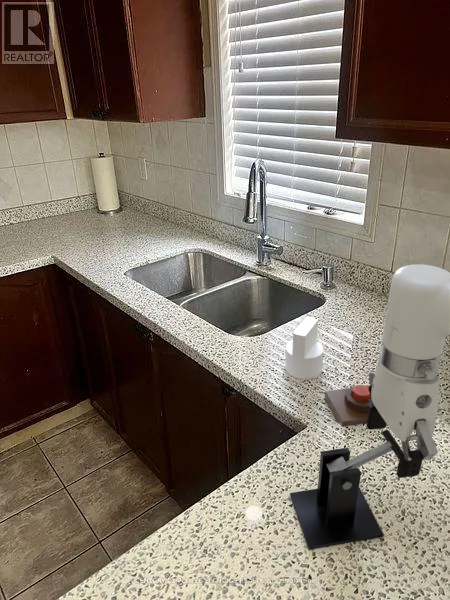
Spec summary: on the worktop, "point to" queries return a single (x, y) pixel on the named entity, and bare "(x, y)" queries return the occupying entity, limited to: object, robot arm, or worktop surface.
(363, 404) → the control block
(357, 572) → the worktop surface
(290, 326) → the worktop surface
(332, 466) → the lever
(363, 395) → the button
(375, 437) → the worktop surface
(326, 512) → the black lever stand
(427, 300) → the robot arm
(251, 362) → the worktop surface
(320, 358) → the base with upright slab
